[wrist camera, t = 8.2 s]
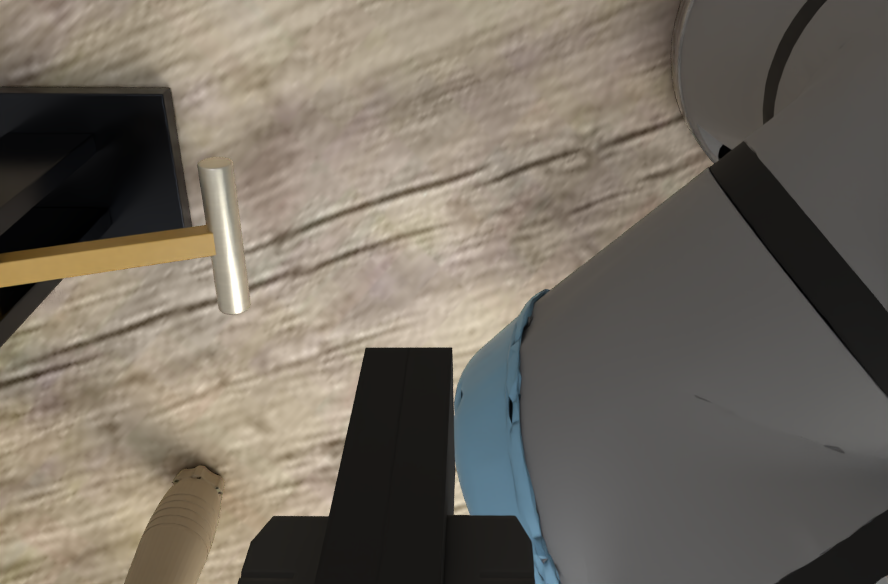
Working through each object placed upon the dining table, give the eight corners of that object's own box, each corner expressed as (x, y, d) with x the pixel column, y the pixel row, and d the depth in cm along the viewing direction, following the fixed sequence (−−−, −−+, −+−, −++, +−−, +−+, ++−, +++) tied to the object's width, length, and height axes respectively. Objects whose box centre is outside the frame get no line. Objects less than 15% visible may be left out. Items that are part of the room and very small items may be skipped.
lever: (228, 151, 37) (236, 169, 35) (246, 293, 40) (254, 316, 38) (-116, 190, 33) (-129, 213, 31) (-64, 344, 36) (-73, 373, 34)
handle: (215, 435, 53) (129, 637, 40) (256, 511, 56) (188, 722, 42) (145, 452, 53) (38, 656, 40) (189, 526, 56) (103, 738, 43)
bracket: (170, 87, 42) (48, 191, 30) (196, 250, 47) (98, 399, 34) (-67, 85, 43) (-282, 188, 30) (-20, 248, 47) (-191, 394, 35)
